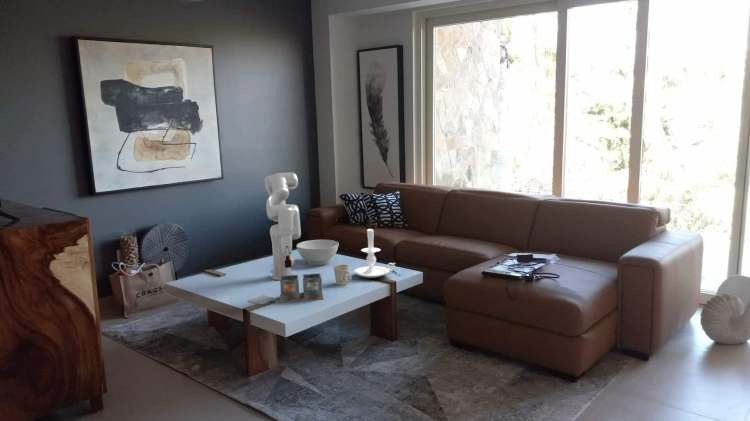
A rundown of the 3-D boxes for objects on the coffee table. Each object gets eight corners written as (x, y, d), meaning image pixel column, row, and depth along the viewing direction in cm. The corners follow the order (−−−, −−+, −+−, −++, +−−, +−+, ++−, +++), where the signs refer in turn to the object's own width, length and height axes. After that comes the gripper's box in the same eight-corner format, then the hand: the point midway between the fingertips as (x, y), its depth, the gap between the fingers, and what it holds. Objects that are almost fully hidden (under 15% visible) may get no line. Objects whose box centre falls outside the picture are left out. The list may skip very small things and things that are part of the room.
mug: (342, 280, 335) (341, 263, 333) (357, 284, 326) (356, 267, 325) (331, 283, 329) (330, 266, 328) (346, 288, 320) (345, 270, 319)
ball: (279, 267, 302) (279, 256, 301) (288, 264, 307) (287, 253, 306) (288, 269, 299) (287, 257, 298) (296, 266, 303) (296, 255, 302)
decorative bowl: (347, 260, 381) (347, 241, 379) (322, 270, 359) (321, 250, 357) (314, 255, 395) (313, 238, 393) (288, 265, 373) (287, 246, 371)
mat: (247, 301, 302) (247, 300, 302) (263, 295, 311) (263, 295, 311) (262, 305, 296) (262, 304, 296) (278, 299, 305) (278, 298, 305)
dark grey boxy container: (280, 302, 299) (278, 281, 298) (280, 295, 310) (279, 275, 308) (323, 299, 303) (322, 278, 301) (322, 292, 313) (321, 272, 311)
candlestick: (390, 282, 329) (389, 233, 324) (348, 280, 336) (347, 231, 332) (400, 272, 348) (399, 226, 344) (360, 270, 356) (358, 224, 351)
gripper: (279, 228, 308) (280, 262, 311) (278, 235, 291) (280, 270, 294) (293, 227, 309) (295, 261, 312) (294, 234, 292) (295, 269, 295)
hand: (288, 265), depth 303 cm, fingers closed on ball, 5 cm apart
